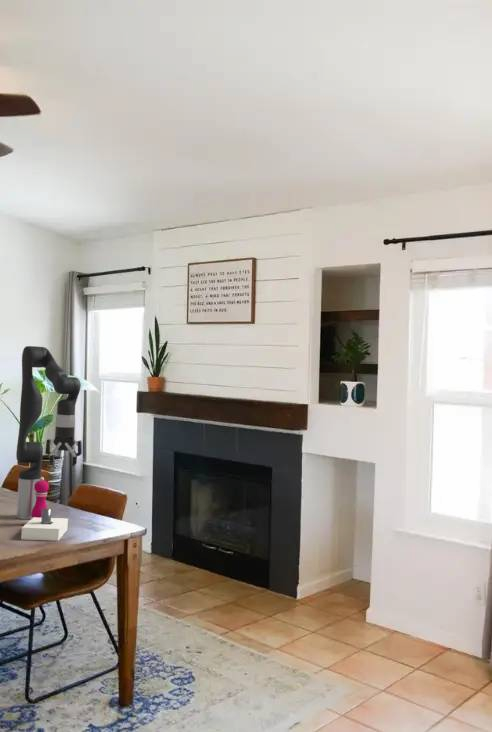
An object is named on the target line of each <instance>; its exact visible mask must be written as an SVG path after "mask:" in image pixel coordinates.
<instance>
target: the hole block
mask: <svg viewBox="0 0 492 732" xmlns="http://www.w3.org/2000/svg"><path fill="white" fill-rule="evenodd" d="M41 520H42V518H38V517H33V518H32V519H29V521H28V522H26V523H25V524H24V526H21V533H20V534H21V540H27V541H28V540H29V541H56V542H57V541H59V540H60V539H61V538H62V537H63V535H65V533H66V532H67V531H68V527H69V526H68V523H69V518H66V517H64V518H62V517H51V524H41Z"/></svg>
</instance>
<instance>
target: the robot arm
mask: <svg viewBox="0 0 492 732" xmlns="http://www.w3.org/2000/svg"><path fill="white" fill-rule="evenodd" d="M33 368H37V369H38V368H44V375H45V376H46V378H47V380H49V381H50V382H51V384H52V386H53V390H54V391H55V393H57V394H58V395H60V394H61V395H67V397H66V398H64V399H60V400H59V401H57V408H56V418H55V432H54V439H51V438H47V440H46V446H45V454H46V455H49V464H50V465H51V466H54V465H55V454H56V452H58V451H61V452H62V451H65V452H67V451H69V453H70V454H71V455H72V460H71V461H72V462H71V465H72V467H75V466H76V465H77V463H78V461H77V459H78V457H79V456H82V454H83V453H82V452H83V442H82V440H75V429H76V427H75V425H76V419H75V415H76V414H75V413H76V411H75V410H76V404H77V400H78V397H79V394H80V392H81V388H82V384H81V381H80V379H79V378H78V377H75V376H68V373H67V372H66V371H65V370H64V369H63V368H62V367H61V366H60V365H59V364H58V363H57V361H56V360H55V358H54V356H53V354H52V353H51V351H49V349H48V348H47V347H44V346H37V345H36V346H32V345H28V346H27V345H26V346H25V347H24V348H23V349H22V353H21V394H20V405H19V429H18V437H17V444H16V445H17V446H16V455H15V456H16V460H17V462H18V463H19V464H32V465H31V466H30V467H28V468H26V469H23V470H21V471H19V473H18V485H17V486H18V488H17V500H16V501H17V504H16V505H17V506H16V518H17V519H19V520H31V519H32V518H33V517H32V516H31V513H32V509H33V508H34V506H35V503H36V496H35V492H36V490H35V489H34V485H35V483H36V482H38V481H40V478H41V477H42V476H41V474H42V465H43V464H42V463H43V455H44V454H43V453H44V448H43V447H44V446H43V443H42V442H40V441H27V438H28V435H29V433H30V431H31V429H32V428H33V426H34V425H35V424H36V422H37V421H38V419H39V418H40V416H41V414H42V412H43V398H44V397H43V396H42V393H41V390H40V389H39V387H38V386H37V383H36V382H35V380H34V374H33ZM52 444H54V446H55V447H54V448H53V449H52V451H51V445H52ZM74 445H75V446H76V447H77V452H76V450H75V447H73V446H74Z"/></svg>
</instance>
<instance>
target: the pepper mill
mask: <svg viewBox="0 0 492 732" xmlns="http://www.w3.org/2000/svg"><path fill="white" fill-rule="evenodd" d="M34 489H35V490H36V492H35V496H36V503H35V506H34V508H33V509H32V513H31V516H32V517H38V518H42V509H44V508H49V507H48V505H47V501H46V499H47V497H48V491H49V489H50V484H49V482H48V481H46V480H45V478H44V477H43V476H41V478H40V481H38V482H36V483H35V485H34Z"/></svg>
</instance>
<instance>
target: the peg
mask: <svg viewBox="0 0 492 732" xmlns="http://www.w3.org/2000/svg"><path fill="white" fill-rule="evenodd" d="M51 518H52V508H50V507H48V508H44V509H42V520H41V524H51Z"/></svg>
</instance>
